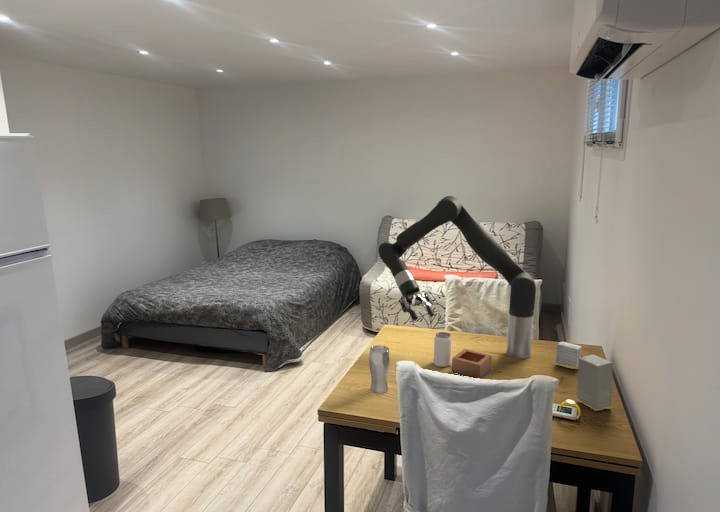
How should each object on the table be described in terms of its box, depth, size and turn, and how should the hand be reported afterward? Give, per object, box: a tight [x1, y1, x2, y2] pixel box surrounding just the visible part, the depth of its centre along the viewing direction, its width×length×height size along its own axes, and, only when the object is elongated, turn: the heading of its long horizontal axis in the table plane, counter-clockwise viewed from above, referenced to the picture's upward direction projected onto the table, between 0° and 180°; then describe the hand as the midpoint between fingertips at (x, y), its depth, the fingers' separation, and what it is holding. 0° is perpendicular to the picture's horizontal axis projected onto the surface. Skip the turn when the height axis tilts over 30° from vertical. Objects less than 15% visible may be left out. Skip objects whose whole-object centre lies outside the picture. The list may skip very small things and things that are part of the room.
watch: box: [558, 398, 581, 420], centre depth 153 cm, size 6×3×6 cm, turn 62°
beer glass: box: [368, 344, 391, 395], centre depth 171 cm, size 7×7×15 cm
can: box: [433, 331, 453, 368], centre depth 192 cm, size 6×6×12 cm
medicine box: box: [555, 341, 583, 367], centre depth 190 cm, size 8×4×9 cm, turn 47°
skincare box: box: [577, 354, 614, 409], centre depth 160 cm, size 8×7×16 cm
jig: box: [451, 348, 493, 379], centre depth 186 cm, size 11×11×6 cm
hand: (424, 317), depth 199 cm, fingers open, 8 cm apart
